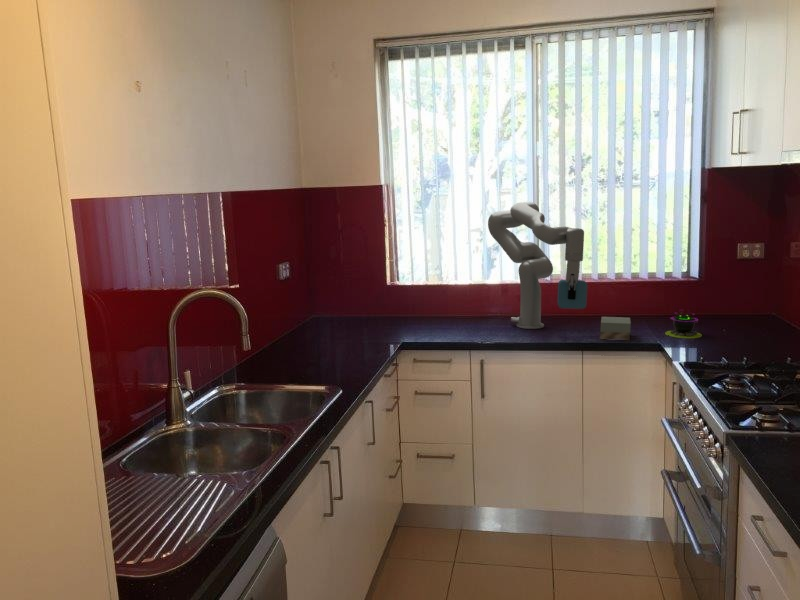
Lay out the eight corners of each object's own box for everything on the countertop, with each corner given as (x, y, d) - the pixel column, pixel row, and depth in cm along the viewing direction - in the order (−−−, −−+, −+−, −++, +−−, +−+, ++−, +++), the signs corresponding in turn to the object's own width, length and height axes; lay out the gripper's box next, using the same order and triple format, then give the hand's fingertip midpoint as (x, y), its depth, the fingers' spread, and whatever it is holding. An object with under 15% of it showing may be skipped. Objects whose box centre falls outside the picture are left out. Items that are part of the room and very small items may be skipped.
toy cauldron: (706, 333, 292) (707, 309, 290) (696, 340, 280) (698, 314, 278) (671, 329, 301) (672, 305, 299) (660, 335, 290) (661, 311, 288)
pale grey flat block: (600, 331, 283) (600, 322, 283) (601, 325, 296) (601, 316, 295) (630, 332, 280) (630, 323, 279) (629, 326, 292) (630, 317, 291)
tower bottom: (599, 340, 284) (600, 331, 284) (600, 334, 296) (601, 325, 296) (629, 342, 280) (629, 333, 280) (629, 335, 293) (629, 326, 292)
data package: (585, 307, 293) (586, 280, 291) (586, 309, 289) (587, 282, 287) (557, 306, 295) (558, 279, 293) (558, 308, 291) (559, 281, 288)
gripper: (566, 254, 297) (564, 294, 300) (563, 259, 281) (561, 301, 284) (583, 254, 295) (581, 295, 298) (582, 260, 279) (579, 302, 282)
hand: (572, 297), depth 291 cm, fingers closed on data package, 5 cm apart
